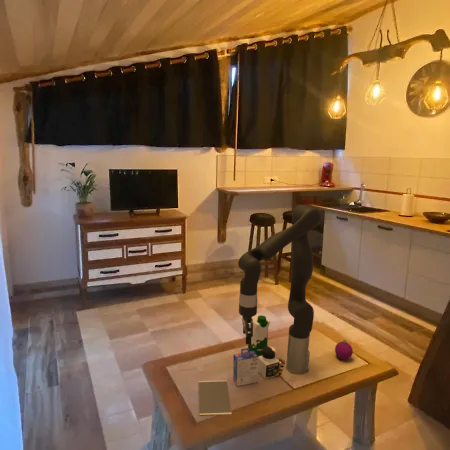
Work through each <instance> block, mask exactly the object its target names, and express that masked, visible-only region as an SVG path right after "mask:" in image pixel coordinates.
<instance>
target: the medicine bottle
mask: <svg viewBox="0 0 450 450" xmlns="http://www.w3.org/2000/svg"><path fill="white" fill-rule="evenodd" d="M276 356H277V349H276V348H275V347H273V346H268V345H267V346H266V347H264V348H263V349H262V356H259V357H258V374H260V375H261V376H262V377H263V378H264V379H265V380H267V379H270V378H273V377H276V376H279V373H280V360H279V359H278V358H277V357H276Z"/></svg>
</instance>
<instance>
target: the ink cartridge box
mask: <svg viewBox="0 0 450 450" xmlns="http://www.w3.org/2000/svg"><path fill="white" fill-rule="evenodd" d="M244 351H245V352H244ZM247 351H248V352H247ZM232 374H233V375H232V376H233V377H232V380H233V382H234V384H235V386H236V387H240V386H244V385H249V384H255V383H258V374H259V372H258V355H257V354H256V353H255V352H254V351H250V352H249V348H248V347H245V348H241V349H240V353H235V354H233V373H232Z"/></svg>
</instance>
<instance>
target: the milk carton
mask: <svg viewBox="0 0 450 450" xmlns="http://www.w3.org/2000/svg"><path fill="white" fill-rule="evenodd" d="M252 319H253V337H251V344H247V348H249V352H250V351H254V352H255V353H256V354H257V355H258V357H259V356H262V349H263V348H264V347H266V346H268V340H269V339H268V338H269V327H270V323H271V320H269V319H268V318H267V316H265V315H261V314H258V315H255V316H253V317H252ZM248 333H250V332H248ZM246 352H248V351H247V350H246Z"/></svg>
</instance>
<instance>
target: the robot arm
mask: <svg viewBox="0 0 450 450" xmlns="http://www.w3.org/2000/svg"><path fill="white" fill-rule="evenodd" d="M321 214H322V213H321V212H320V211H319V210H318V209H317V208H316V207H312V206H308V205H304V204H299V205H297V206H296V207H294V209H293V211H292V215H291V225H290V226H289V227H287V228H285V229H283V230H281V231H278V232H276V233H274V234H272V235H271V236H269V237H267V239H264V241H263V242H261V243H260V244H259V245H258V246H257V247H256V246H255V247H254V248H251V249H250V250H249V251H246V252H245V253H243V254H242V255H241V256H240V257H239V259H238V262H237V264H238V268H239V269H240V270H241V271H243V272H244V277H243V278H241V280H240V285H239V296H238V297H239V298H238V313H239V315H240V316H242V317H241V323H242V333H243V334H244V335H245V345H248V344H251V337H253V319H252V317H254V316H257V314H258V283H259V280H260V277H261V273H262V265H261V264H262V263H261V262H262V261H268V260H270V259H272V258H273V257H274V256H276V255H277V254H278V253H279V252H280V251H281V250H283V249H284V248H286V246H288V245H289V244H291V243H292V248H291V249H292V251H291V253H292V254H291V265H290V266H291V267H290V268H291V271H290V272H291V273H290V287H289V288H290V290H289V291H290V292H289V295H288V296H289V297H288V302H287V303H288V304H287V311H288V313H289V315H290V316H291V317H293V324H291V325H289V328H288V340H287V354H286V355H287V356H286V365H285V366H286V369H287V370H288V372H290V373H293V374H296V375H297V374H298V375H300V374H304V373H306V372H309V364H310V354H311V353H310V351H309V348H310V336H311V332H312V330H313V324H314V316H315V310H314V307H313V306H312V305H311V304H310V303H309V302H308V301H307V299H306V290H307V289H306V288H307V285H308V283H309V281H310V280H311V277H312V275H313V270H314V254H313V250H312V247H311V244H310V240H309V232H311V231H312V230H314V229H315V228H317V226H318V225H320V222H321V220H322V215H321ZM249 332H250V333H249Z"/></svg>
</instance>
